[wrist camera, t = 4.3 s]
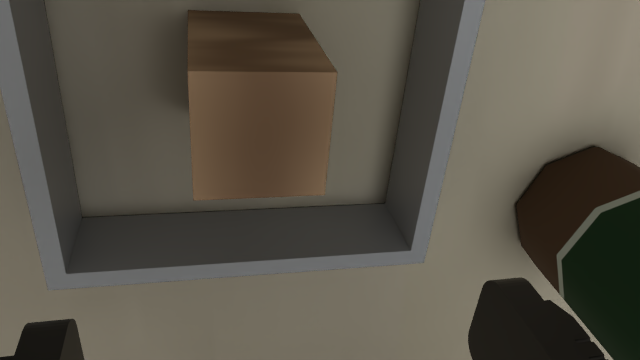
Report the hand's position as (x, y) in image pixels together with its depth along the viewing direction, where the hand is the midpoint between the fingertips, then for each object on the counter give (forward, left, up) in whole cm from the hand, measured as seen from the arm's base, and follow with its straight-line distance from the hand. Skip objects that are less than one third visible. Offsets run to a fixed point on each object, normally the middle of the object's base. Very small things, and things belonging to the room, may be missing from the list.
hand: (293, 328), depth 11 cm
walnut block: (0, 0, -15) cm, 15 cm away
